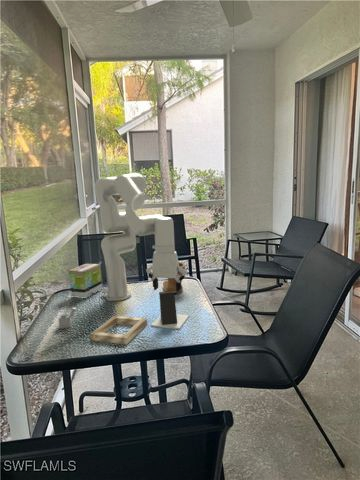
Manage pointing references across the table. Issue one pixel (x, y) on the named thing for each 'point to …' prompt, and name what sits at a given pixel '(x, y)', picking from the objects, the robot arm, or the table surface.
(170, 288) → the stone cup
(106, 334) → the wooden frame
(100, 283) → the tea box
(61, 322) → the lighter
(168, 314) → the phone stand
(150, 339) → the table surface
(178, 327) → the cream mat
